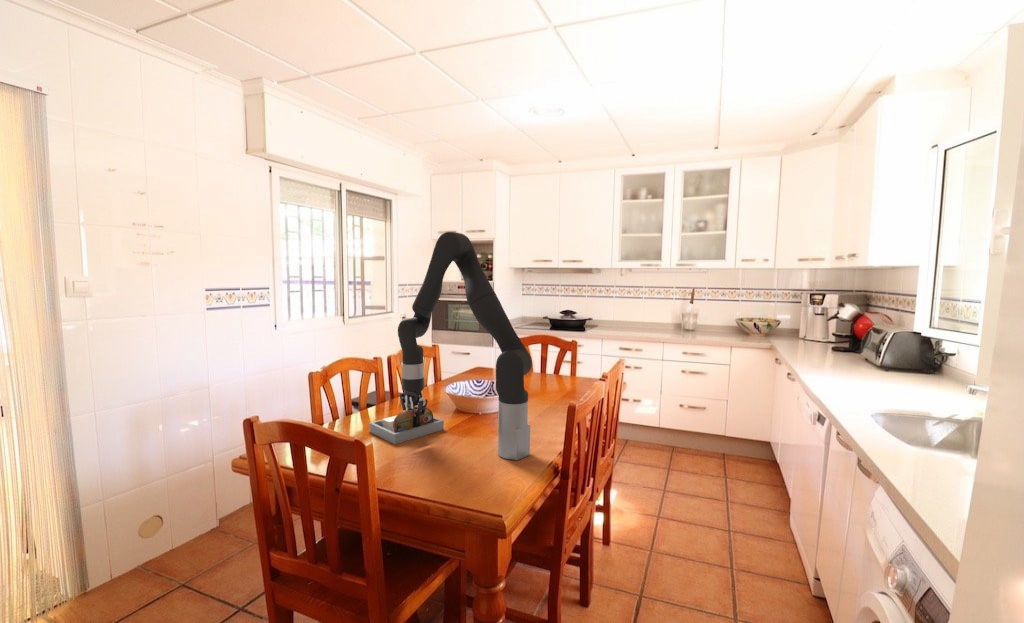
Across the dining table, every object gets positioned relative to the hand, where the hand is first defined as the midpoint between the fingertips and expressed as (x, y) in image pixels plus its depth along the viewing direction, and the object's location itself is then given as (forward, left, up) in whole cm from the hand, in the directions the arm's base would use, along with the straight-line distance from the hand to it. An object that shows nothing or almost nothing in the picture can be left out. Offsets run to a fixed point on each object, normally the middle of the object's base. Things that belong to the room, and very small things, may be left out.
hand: (413, 424), depth 158 cm
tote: (+4, 0, -4) cm, 6 cm away
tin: (0, 0, -3) cm, 3 cm away
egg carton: (+8, 0, -3) cm, 9 cm away
